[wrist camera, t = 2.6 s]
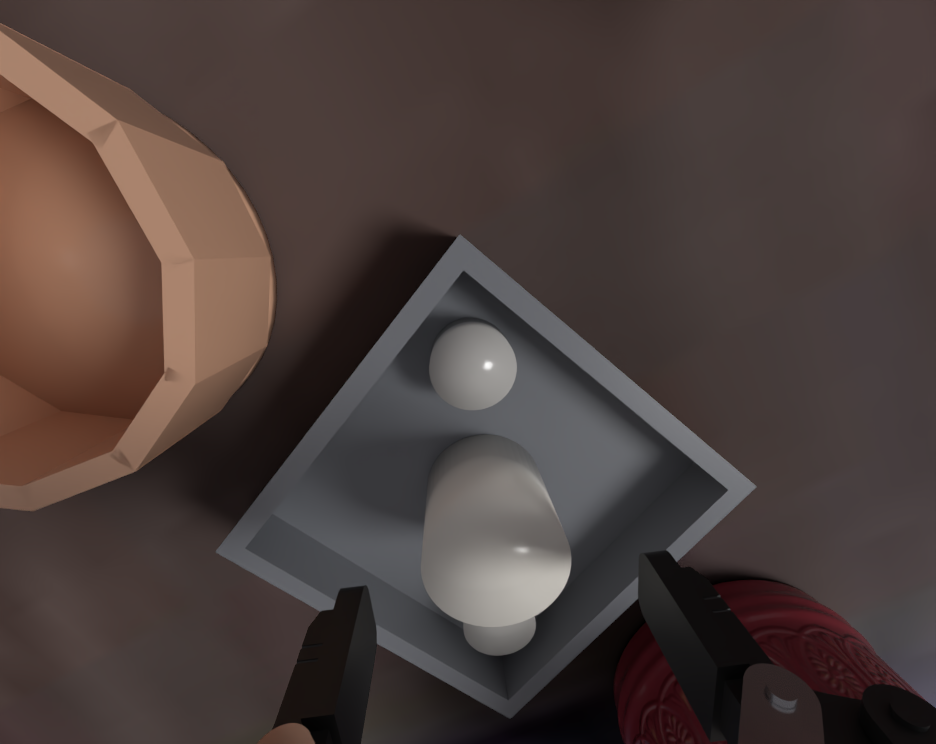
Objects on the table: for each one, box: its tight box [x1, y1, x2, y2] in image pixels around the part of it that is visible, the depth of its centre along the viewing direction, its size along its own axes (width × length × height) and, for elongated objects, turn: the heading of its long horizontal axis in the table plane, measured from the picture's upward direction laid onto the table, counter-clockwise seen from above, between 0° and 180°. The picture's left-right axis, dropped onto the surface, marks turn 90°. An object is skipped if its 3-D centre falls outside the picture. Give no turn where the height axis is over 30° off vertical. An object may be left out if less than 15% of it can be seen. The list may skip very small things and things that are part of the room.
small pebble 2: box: [463, 616, 536, 656], centre depth 20 cm, size 3×3×2 cm
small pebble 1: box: [429, 318, 517, 410], centre depth 17 cm, size 3×3×2 cm
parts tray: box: [216, 235, 756, 719], centre depth 18 cm, size 15×15×3 cm
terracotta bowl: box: [0, 23, 277, 511], centre depth 14 cm, size 13×13×6 cm
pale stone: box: [421, 434, 571, 627], centre depth 17 cm, size 5×5×5 cm
